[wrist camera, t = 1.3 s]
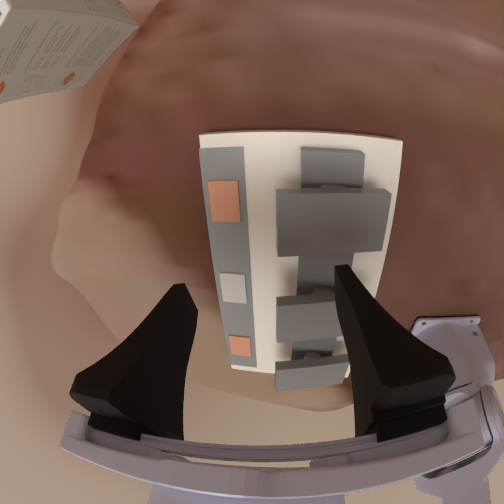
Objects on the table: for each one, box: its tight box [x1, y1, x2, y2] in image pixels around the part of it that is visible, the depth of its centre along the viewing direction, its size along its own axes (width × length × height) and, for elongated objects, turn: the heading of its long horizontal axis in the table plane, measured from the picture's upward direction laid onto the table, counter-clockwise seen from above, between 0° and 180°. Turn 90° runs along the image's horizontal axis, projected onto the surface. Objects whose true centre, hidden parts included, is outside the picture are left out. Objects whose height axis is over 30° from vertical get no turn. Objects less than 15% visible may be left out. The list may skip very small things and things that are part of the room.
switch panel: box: [199, 130, 403, 377], centre depth 23 cm, size 14×26×3 cm, turn 3°
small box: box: [0, 0, 140, 103], centre depth 10 cm, size 8×6×13 cm
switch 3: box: [275, 352, 349, 391], centre depth 25 cm, size 7×4×2 cm, turn 93°
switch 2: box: [276, 287, 343, 343], centre depth 21 cm, size 7×4×2 cm, turn 93°
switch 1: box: [276, 184, 392, 257], centre depth 16 cm, size 7×4×2 cm, turn 93°
